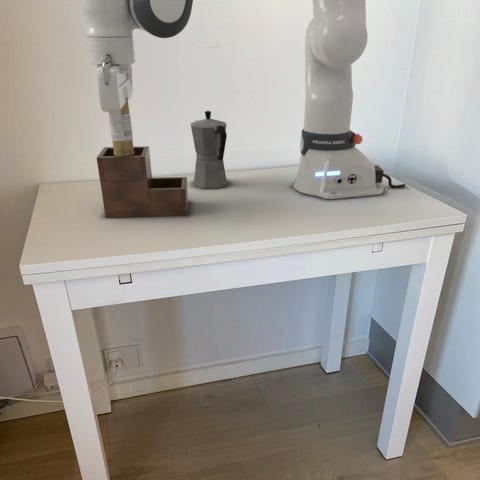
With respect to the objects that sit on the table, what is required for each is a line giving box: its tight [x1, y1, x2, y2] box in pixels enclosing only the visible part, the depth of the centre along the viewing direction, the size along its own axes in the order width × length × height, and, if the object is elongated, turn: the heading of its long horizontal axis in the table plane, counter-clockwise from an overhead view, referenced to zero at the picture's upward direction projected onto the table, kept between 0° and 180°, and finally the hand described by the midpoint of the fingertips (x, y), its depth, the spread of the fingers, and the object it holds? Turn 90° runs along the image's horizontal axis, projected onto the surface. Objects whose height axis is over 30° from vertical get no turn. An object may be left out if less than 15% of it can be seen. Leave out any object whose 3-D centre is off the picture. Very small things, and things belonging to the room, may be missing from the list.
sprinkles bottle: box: [108, 87, 135, 156], centre depth 104 cm, size 5×5×14 cm
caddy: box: [96, 145, 189, 219], centre depth 111 cm, size 18×10×13 cm, turn 94°
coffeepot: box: [190, 110, 228, 190], centre depth 125 cm, size 15×9×18 cm, turn 29°
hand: (121, 127), depth 104 cm, fingers closed on sprinkles bottle, 4 cm apart
